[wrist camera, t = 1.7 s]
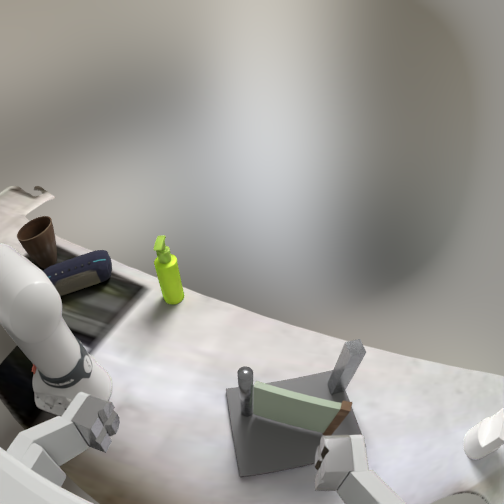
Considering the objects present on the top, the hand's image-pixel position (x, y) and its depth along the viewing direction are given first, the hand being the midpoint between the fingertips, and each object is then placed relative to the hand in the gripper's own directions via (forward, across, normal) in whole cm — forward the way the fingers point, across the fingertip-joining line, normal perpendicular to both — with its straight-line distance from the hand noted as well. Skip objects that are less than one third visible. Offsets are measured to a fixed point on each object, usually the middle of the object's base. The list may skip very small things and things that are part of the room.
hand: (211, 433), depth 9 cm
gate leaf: (+30, +8, -40) cm, 50 cm away
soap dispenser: (+62, -26, -33) cm, 74 cm away
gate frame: (+31, +8, -41) cm, 52 cm away
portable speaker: (+61, -59, -33) cm, 91 cm away
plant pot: (+69, -82, -30) cm, 111 cm away
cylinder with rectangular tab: (+22, +52, -44) cm, 72 cm away
